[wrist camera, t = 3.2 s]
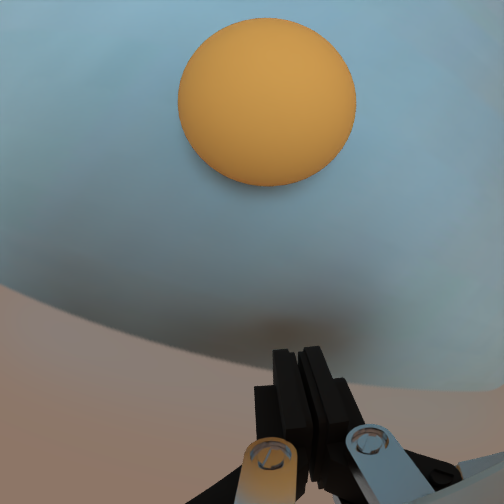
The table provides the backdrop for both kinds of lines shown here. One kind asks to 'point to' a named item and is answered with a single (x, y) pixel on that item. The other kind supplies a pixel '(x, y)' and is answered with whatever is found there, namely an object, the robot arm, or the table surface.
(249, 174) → the ball
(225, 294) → the table surface
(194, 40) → the table surface
